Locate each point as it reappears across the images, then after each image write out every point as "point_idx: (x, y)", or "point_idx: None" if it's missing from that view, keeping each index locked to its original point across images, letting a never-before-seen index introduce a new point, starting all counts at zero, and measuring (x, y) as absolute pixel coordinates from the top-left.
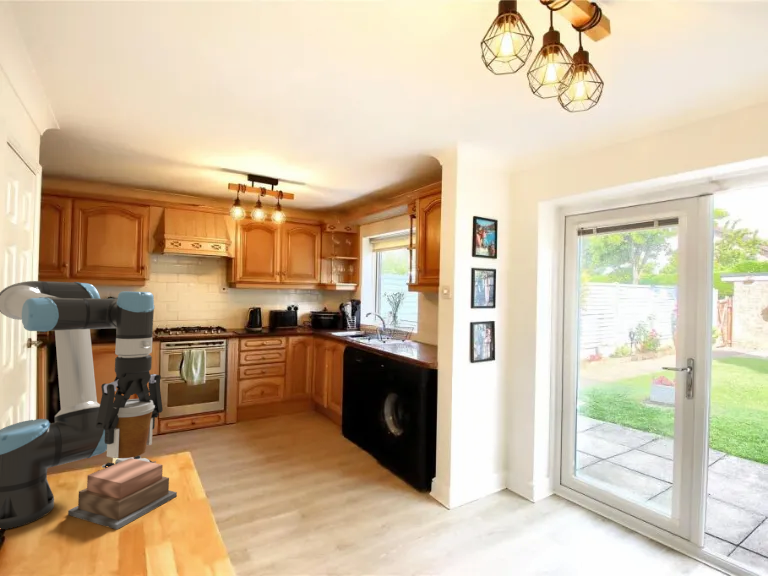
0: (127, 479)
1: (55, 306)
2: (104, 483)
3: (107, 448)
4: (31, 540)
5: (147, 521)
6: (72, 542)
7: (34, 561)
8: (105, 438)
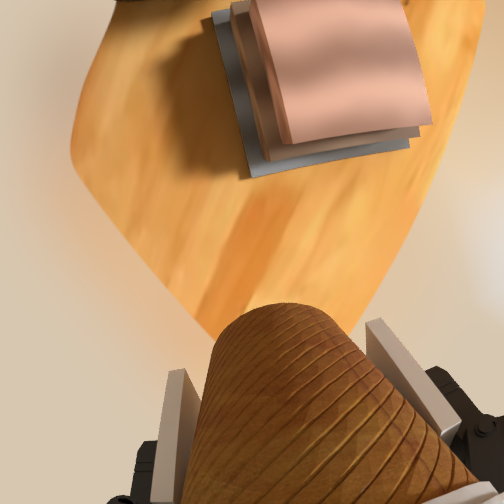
0: (320, 131)
1: None
2: (271, 67)
3: (165, 402)
4: (121, 75)
5: (309, 199)
6: (168, 151)
7: (101, 169)
8: (138, 470)
